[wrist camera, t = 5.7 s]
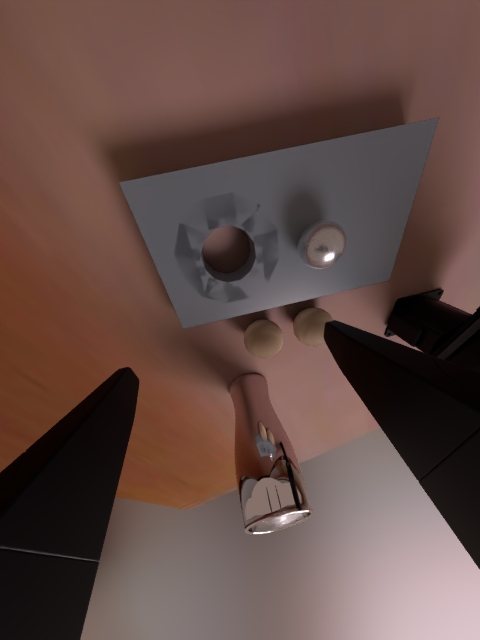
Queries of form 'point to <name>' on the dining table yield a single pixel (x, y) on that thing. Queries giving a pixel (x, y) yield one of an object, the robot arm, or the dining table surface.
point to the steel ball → (322, 244)
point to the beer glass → (265, 462)
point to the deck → (281, 219)
